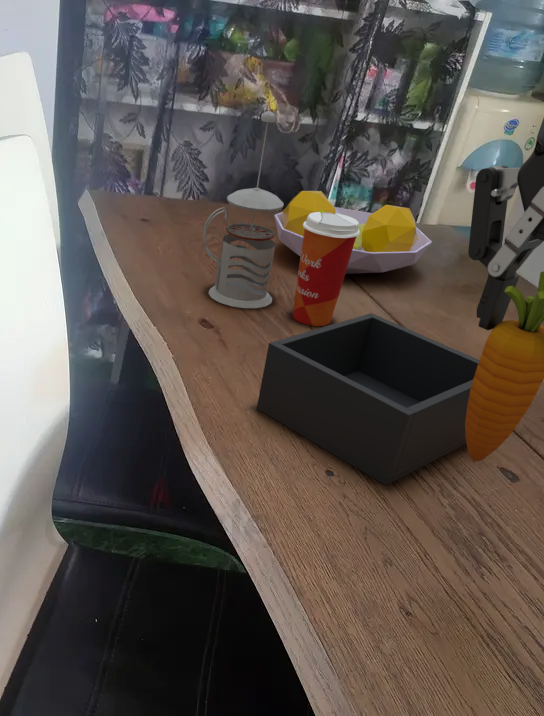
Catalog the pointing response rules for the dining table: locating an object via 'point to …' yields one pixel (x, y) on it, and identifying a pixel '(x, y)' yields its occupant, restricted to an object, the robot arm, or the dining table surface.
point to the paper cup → (323, 265)
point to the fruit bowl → (377, 233)
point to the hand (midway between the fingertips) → (523, 339)
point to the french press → (238, 283)
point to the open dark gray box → (370, 394)
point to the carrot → (506, 375)
